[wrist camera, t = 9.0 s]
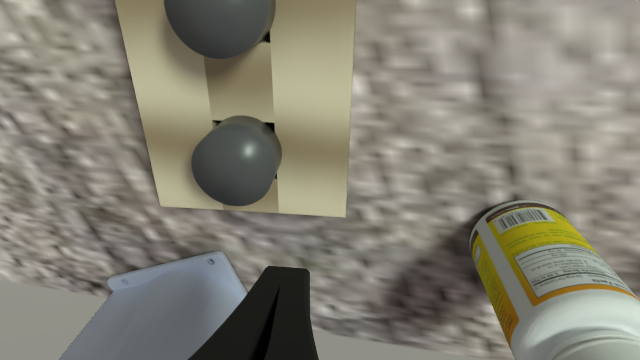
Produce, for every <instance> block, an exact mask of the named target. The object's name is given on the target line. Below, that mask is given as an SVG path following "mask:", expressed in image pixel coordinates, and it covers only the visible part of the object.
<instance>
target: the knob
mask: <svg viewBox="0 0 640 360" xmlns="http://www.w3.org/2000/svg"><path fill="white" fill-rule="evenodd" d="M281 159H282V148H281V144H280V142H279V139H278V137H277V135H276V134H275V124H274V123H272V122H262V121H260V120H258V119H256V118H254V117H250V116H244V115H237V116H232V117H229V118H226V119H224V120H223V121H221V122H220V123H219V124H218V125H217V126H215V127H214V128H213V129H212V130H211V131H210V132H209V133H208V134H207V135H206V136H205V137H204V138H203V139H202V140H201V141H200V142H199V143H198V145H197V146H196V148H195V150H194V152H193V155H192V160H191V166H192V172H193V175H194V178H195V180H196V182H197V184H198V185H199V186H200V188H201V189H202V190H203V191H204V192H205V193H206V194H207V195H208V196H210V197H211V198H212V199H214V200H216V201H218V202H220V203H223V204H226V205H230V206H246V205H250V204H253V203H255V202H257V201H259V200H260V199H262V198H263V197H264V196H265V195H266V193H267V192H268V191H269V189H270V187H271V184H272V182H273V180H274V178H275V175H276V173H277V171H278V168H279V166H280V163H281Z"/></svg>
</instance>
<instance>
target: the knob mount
mask: <svg viewBox="0 0 640 360" xmlns="http://www.w3.org/2000/svg"><path fill="white" fill-rule="evenodd" d="M275 3H276V11H275V18H274V21H273V24H272V27H271V29H270V35H268V34H267V35H266V36H265V38H264V39H263V40H262V41H261V42H259V43H258V44H256V45H255V46H253V47H251V48H250V49H248V50H246V51H244V52H243V53H241V54H239V55H237V56H234V57H231V58H226V59H214V58H209V57H206V56H203V55H200V54H198V53H196V52H195V51H193V50H192V49H190V48H189V47H188V46H187V45H185V44H184V43H183V42H182V41H181V40H180V39H179V37H178V36H177V35H176V33H175V32H174V30H173V28H172V27H171V25H170V23H169V20H168V18H167V15H166V11H165V7H164V0H115V4H116V8H117V13H118V17H119V22H120V26H121V31H122V35H123V40H124V44H125V49H126V53H127V58H128V62H129V67H130V71H131V76H132V80H133V85H134V89H135V94H136V98H137V103H138V107H139V112H140V116H141V121H142V125H143V130H144V134H145V139H146V143H147V148H148V152H149V157H150V161H151V166H152V170H153V175H154V179H155V184H156V188H157V193H158V197H159V202H160V206H165V207H182V208H199V209H216V210H233V211H250V212H267V213H284V214H301V215H318V216H335V217H345V214H346V198H347V180H348V159H349V138H350V118H351V97H352V77H353V56H354V36H355V15H356V0H275ZM237 115H244V116H250V117H254V118H256V119H258V120H260V121H262V122H272V123H274V124H275V134H276V135H277V137H278V139H279V142H280V144H281V148H282V159H281V163H280V166H279V168H278V171H277V173H276V175H275V178H274V180H273V182H272V184H271V187H270V189H269V191H268V192H267V193H266V195H265V196H264V197H263V198H262V199H260V200H259V201H257V202H255V203H253V204H250V205H246V206H230V205H226V204H223V203H220V202H218V201H216V200H214V199H212V198H211V197H210V196H208V195H207V194H206V193H205V192H204V191H203V190H202V189H201V188H200V186H199V185H198V184H197V182H196V180H195V178H194V175H193V172H192V166H191V160H192V155H193V152H194V150H195V148H196V146H197V145H198V143H199V142H200V141H201V140H202V139H203V138H204V137H205V136H206V135H207V134H208V133H209V132H210V131H211V130H212V129H213V128H214V127H215V126H217V125H218V124H219V123H220V122H221V121H223V120H224V119H226V118H229V117H232V116H237Z"/></svg>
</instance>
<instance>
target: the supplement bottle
mask: <svg viewBox="0 0 640 360" xmlns="http://www.w3.org/2000/svg"><path fill="white" fill-rule="evenodd" d="M469 247H470V253H471V256H472V259H473V261H474V264H475V266H476V268H477V271H478V273H479V275H480V278H481V280H482V282H483V285H484V287H485V289H486V292H487V294H488V297H489V299H490V301H491V304H492V306H493V308H494V311H495V313H496V315H497V318H498V320H499V322H500V325H501V327H502V330H503V332H504V334H505V337H506V339H507V342H508V344H509V347H510V349H511V351H512V354H513V356H514V358H515V360H640V300H639V299H638V298H637V296H636V295H635V294H634V293H633V292H632V291H631V290H630V289H629V288H628V287H627V286H626V284H625V283H624V282H623V281H622V280H621V279H620V278H619V277H618V276H617V274H616V273H615V272H614V271H613V270H612V269H611V268H610V267H609V266H608V265H607V263H606V262H605V261H604V260H603V259H602V258H601V257H600V256H599V254H598V253H597V252H596V251H595V250H594V249H593V248H592V247H591V246H590V245H589V244H588V242H587V241H586V240H585V239H584V238H583V237H582V236H581V235H580V234H579V232H578V231H577V230H576V229H575V228H574V227H573V226H572V225H571V223H570V222H569V221H568V220H567V219H566V218H565V217H564V216H563V215H562V214H561V213H560V212H559V211H558V210H556V209H555V208H553V207H552V206H550V205H547V204H545V203H542V202H538V201H532V200H518V201H512V202H508V203H505V204H502V205H500V206H497V207H495V208H494V209H492V210H490V211H489V212H487V213H486V214H485V215H484V216H483V217H482V218H481V219H480V220H479V221H478V222H477V224H476V225H475V227H474V229H473V231H472V233H471V237H470V242H469Z"/></svg>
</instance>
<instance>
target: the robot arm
mask: <svg viewBox="0 0 640 360" xmlns="http://www.w3.org/2000/svg"><path fill="white" fill-rule="evenodd" d="M210 259H212V260H213V261H211V260H210ZM107 284H108V286H109V287H110V288H111V290H112V291H113V292H112V294H111V295H110V296H109V297H108V299H107V300H106V301H105V302H104V304H103V305H102V306H101V307H100V309H99V310H98V311H97V313H96V314H95V315H94V316H93V317H92V319H91V320H90V321H89V322H88V324H87V325H86V326H85V327H84V329H83V330H82V331H81V332H80V334H79V335H78V336H77V337H76V338H75V340H74V341H73V342H72V343H71V345H70V346H69V347H68V349H67V350H66V351H65V352H64V353H63V355H62V356H61V357H60V359H59V360H319V359H318V355H317V351H316V346H315V342H314V337H313V332H312V327H311V320H310V272H309V271H308V270H307V269H303V268H290V267H277V266H268V267H267V268H265V270H264V271H263V273H262V274H261V276H260V277H259V279H258V280H257V282H256V283H255V284H254V286H253V287H252V288H251V290H250V291H249V292H248V294H247V293H246V291H245V289H244V287H243V286H242V284H241V282H240V280H239V279H238V277H237V275H236V273H235V272H234V270H233V268H232V266H231V265H230V263H229V261H228V259H227V257H226V256H225V254H224V253H222V252H220V251H215V252H211V253H206V254H202V255H198V256H194V257H190V258H186V259H182V260H177V261H173V262H169V263H165V264H161V265H157V266H152V267H148V268H144V269H140V270H136V271H132V272H128V273H123V274H119V275H115V276H112V277H110V278H109V280H108V281H107Z"/></svg>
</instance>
